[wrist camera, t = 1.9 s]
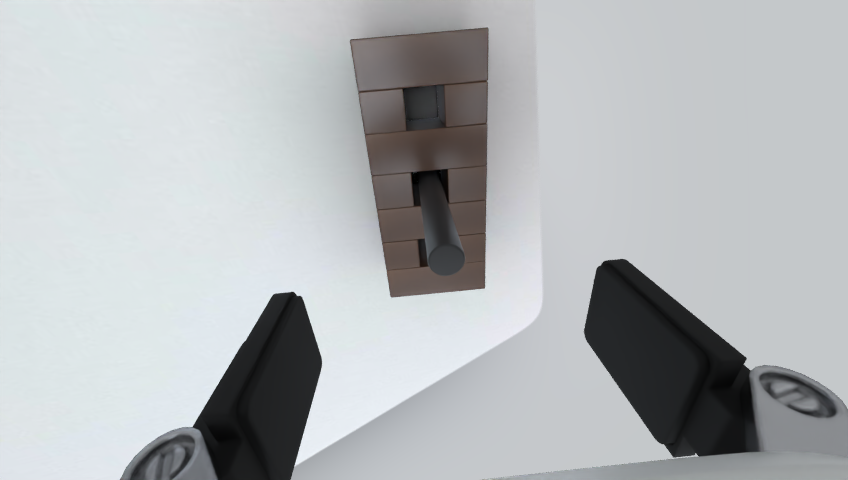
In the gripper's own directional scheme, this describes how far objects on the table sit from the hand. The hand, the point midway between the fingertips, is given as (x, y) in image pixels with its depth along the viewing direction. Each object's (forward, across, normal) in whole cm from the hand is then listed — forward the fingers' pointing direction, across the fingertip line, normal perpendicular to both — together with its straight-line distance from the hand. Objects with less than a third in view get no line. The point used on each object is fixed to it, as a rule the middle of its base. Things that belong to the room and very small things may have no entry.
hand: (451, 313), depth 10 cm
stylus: (+17, 0, 0) cm, 17 cm away
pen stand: (+17, 0, 0) cm, 17 cm away
